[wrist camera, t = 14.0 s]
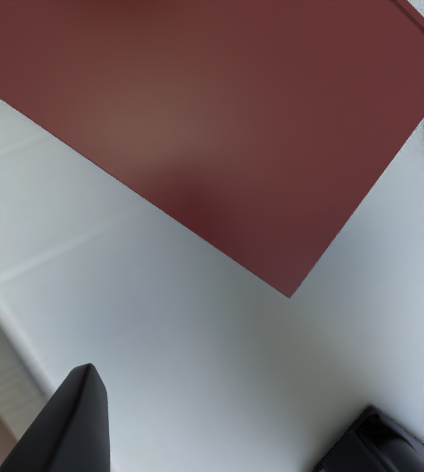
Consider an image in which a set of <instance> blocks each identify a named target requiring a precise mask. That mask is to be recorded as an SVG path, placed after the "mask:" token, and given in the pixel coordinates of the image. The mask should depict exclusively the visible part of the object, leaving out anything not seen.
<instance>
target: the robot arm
mask: <svg viewBox="0 0 424 472" xmlns="http://www.w3.org/2000/svg"><path fill="white" fill-rule="evenodd" d="M372 415H374V416H373V417H372ZM0 472H110V440H109V420H108V400H107V392H106V388H105V386H104V384H103V382H102V380H101V378H100V376H99V374H98V372H97V370H96V368H95V366H94V365H93V364H91V363H88V364H85V365H81V366H78V367H75V368H74V369H72V371H71V372H70V373H69V375H68V376H67V377H66V379H65V380H64V381H63V383H62V384H61V385H60V387H59V388H58V389H57V391H56V392H55V393H54V395H53V396H52V397H51V399H50V400H49V401H48V403H47V404H46V405H45V407H44V408H43V409H42V411H41V412H40V413H39V415H38V416H37V417H36V419H35V420H34V421H33V423H32V424H31V425H30V427H29V428H28V429H27V431H26V432H25V433H24V435H23V436H22V438H21V439H20V440H19V442H18V443H17V444H16V446H15V447H14V448H13V450H12V451H11V452H10V454H9V455H8V456H7V458H6V459H5V460H4V462H3V463H2V465H1V466H0ZM312 472H424V444H423V443H422V442H420V441H419V440H418V439H416V438H415V437H414V436H412V435H411V434H410V433H409V432H407V431H406V430H405V429H403V428H402V427H401V426H400V425H398V424H397V423H396V422H394V421H393V420H392V419H391V418H389V417H388V416H387V415H385V414H384V413H383V412H382V411H380V410H379V409H378V408H376V407H374V406H371V407H368V408H367V409H366V410H365V411H364V412H363V413H362V414H361V415H360V417H359V418H358V419H357V420H356V421H355V422H354V424H353V425H352V426H351V427H350V428H349V429H348V430H347V432H346V433H345V434H344V435H343V436H342V437H341V439H340V440H339V441H338V442H337V443H336V444H335V445H334V447H333V448H332V449H331V450H330V451H329V452H328V454H327V455H326V456H325V457H324V458H323V459H322V461H321V462H320V463H319V464H318V465H317V466H316V467H315V469H314V470H313V471H312Z"/></svg>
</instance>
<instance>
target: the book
mask: <svg viewBox="0 0 424 472" xmlns="http://www.w3.org/2000/svg"><path fill="white" fill-rule="evenodd" d="M0 99H2V100H3V101H5V102H6V103H7V104H9V105H10V106H12V107H13V108H15V109H16V110H18V111H19V112H20V113H22V114H23V115H25V116H26V117H28V118H29V119H31V120H32V121H33V122H35V123H36V124H38V125H39V126H41V127H42V128H44V129H45V130H46V131H48V132H49V133H51V134H52V135H54V136H55V137H57V138H58V139H59V140H61V141H62V142H64V143H65V144H67V145H68V146H70V147H71V148H72V149H74V150H75V151H77V152H78V153H80V154H81V155H83V156H84V157H85V158H87V159H88V160H90V161H91V162H93V163H94V164H96V165H97V166H99V167H100V168H101V169H103V170H104V171H106V172H107V173H109V174H110V175H112V176H113V177H114V178H116V179H117V180H119V181H120V182H122V183H123V184H125V185H126V186H127V187H129V188H130V189H132V190H133V191H135V192H136V193H138V194H139V195H140V196H142V197H143V198H145V199H146V200H148V201H149V202H151V203H152V204H153V205H155V206H156V207H158V208H159V209H161V210H162V211H164V212H165V213H166V214H168V215H169V216H171V217H172V218H174V219H175V220H177V221H178V222H179V223H181V224H182V225H184V226H185V227H187V228H188V229H190V230H191V231H192V232H194V233H195V234H197V235H198V236H200V237H201V238H203V239H204V240H205V241H207V242H208V243H210V244H211V245H213V246H214V247H216V248H217V249H219V250H220V251H221V252H223V253H224V254H226V255H227V256H229V257H230V258H232V259H233V260H234V261H236V262H237V263H239V264H240V265H242V266H243V267H245V268H246V269H247V270H249V271H250V272H252V273H253V274H255V275H256V276H258V277H259V278H260V279H262V280H263V281H265V282H266V283H268V284H269V285H271V286H272V287H273V288H275V289H276V290H278V291H279V292H281V293H282V294H284V295H285V296H286V297H288V298H291V296H292V295H293V294H294V292H295V291H296V290H297V288H298V287H299V286H300V284H301V283H302V281H303V280H304V279H305V277H306V276H307V275H308V273H309V272H310V271H311V269H312V268H313V267H314V265H315V264H316V263H317V261H318V260H319V258H320V257H321V256H322V254H323V253H324V252H325V250H326V249H327V248H328V246H329V245H330V244H331V242H332V241H333V239H334V238H335V237H336V235H337V234H338V233H339V231H340V230H341V229H342V227H343V226H344V225H345V223H346V222H347V220H348V219H349V218H350V216H351V215H352V214H353V212H354V211H355V210H356V208H357V207H358V206H359V204H360V203H361V201H362V200H363V199H364V197H365V196H366V195H367V193H368V192H369V191H370V189H371V188H372V187H373V185H374V184H375V183H376V181H377V180H378V178H379V177H380V176H381V174H382V173H383V172H384V170H385V169H386V168H387V166H388V165H389V164H390V162H391V161H392V159H393V158H394V157H395V155H396V154H397V153H398V151H399V150H400V149H401V147H402V146H403V145H404V143H405V142H406V140H407V139H408V138H409V136H410V135H411V134H412V132H413V131H414V130H415V128H416V127H417V126H418V124H419V123H420V121H421V120H422V119H423V117H424V17H423V16H422V15H421V14H420V13H419V12H418V11H417V10H416V9H415V8H414V7H413V6H412V5H411V4H410V3H409V2H408V1H407V0H0Z"/></svg>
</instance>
